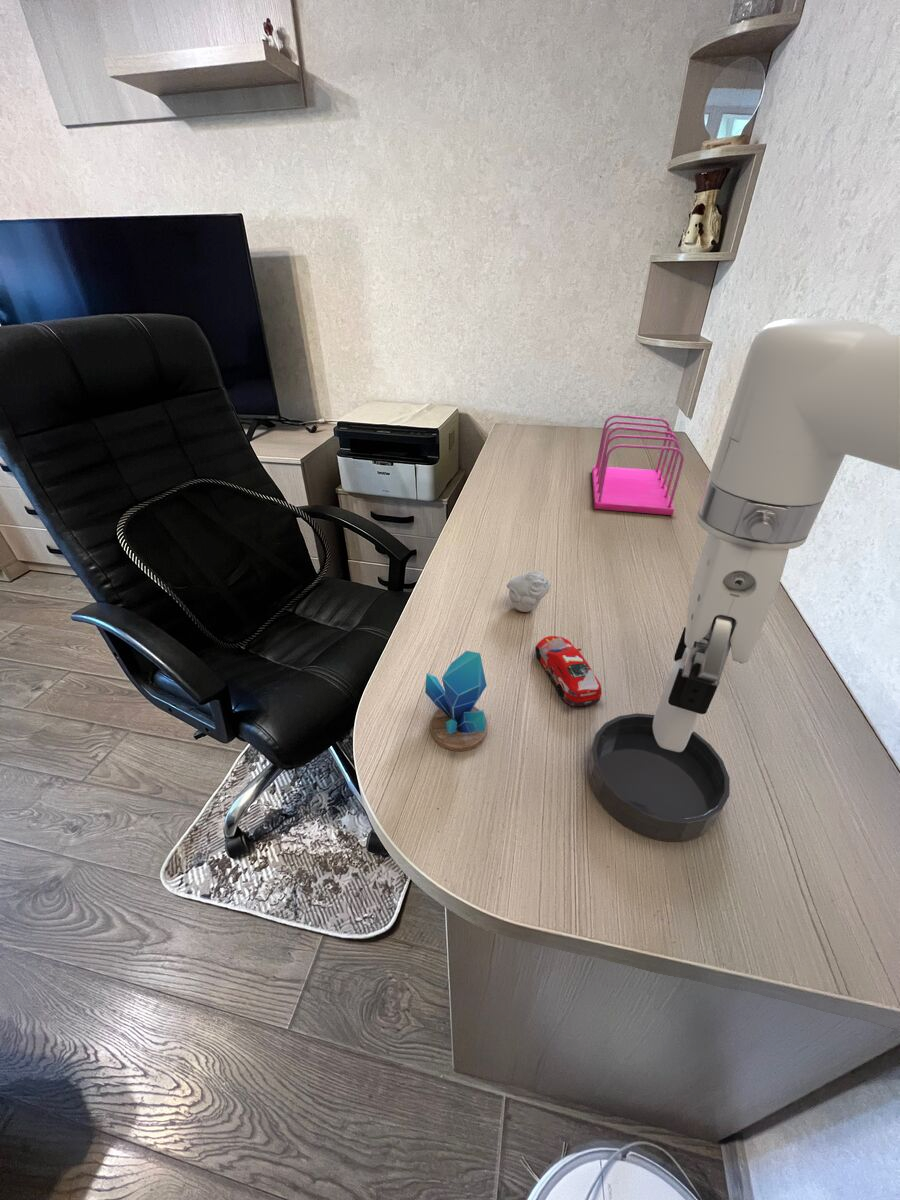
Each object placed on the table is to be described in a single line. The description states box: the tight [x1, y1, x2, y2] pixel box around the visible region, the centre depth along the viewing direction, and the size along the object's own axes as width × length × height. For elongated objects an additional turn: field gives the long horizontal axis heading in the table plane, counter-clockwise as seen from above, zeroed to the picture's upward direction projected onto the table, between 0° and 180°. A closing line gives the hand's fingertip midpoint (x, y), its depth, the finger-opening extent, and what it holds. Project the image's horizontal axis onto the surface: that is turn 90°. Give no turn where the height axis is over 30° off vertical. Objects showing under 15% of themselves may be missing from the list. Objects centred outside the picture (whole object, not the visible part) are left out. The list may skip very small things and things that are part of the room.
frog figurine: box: [506, 570, 552, 613], centre depth 82 cm, size 6×7×7 cm
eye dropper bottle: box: [653, 639, 708, 752], centre depth 48 cm, size 4×6×12 cm
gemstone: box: [424, 650, 489, 752], centre depth 59 cm, size 7×9×12 cm
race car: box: [535, 635, 602, 708], centre depth 69 cm, size 13×5×4 cm, turn 13°
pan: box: [587, 712, 731, 843], centre depth 55 cm, size 14×14×4 cm
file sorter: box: [591, 414, 685, 516], centre depth 120 cm, size 17×25×16 cm
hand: (688, 683), depth 47 cm, fingers closed on eye dropper bottle, 5 cm apart
